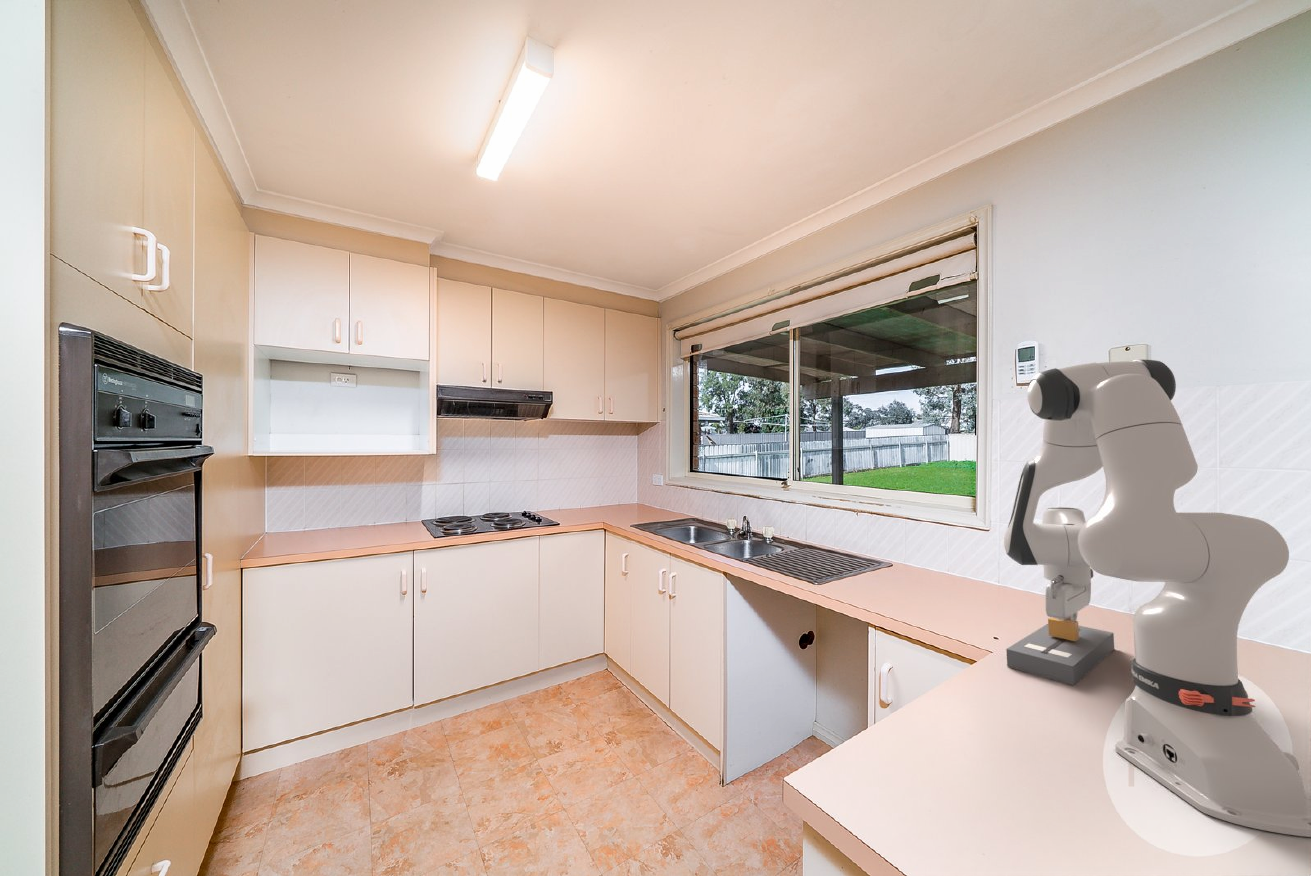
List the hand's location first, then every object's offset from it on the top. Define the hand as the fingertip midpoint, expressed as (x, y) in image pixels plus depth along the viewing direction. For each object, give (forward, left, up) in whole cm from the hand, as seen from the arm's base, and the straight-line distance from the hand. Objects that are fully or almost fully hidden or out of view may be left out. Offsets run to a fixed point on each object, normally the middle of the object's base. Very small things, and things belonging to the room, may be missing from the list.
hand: (1069, 629), depth 119 cm
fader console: (-4, +3, -5) cm, 7 cm away
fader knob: (-3, +2, -1) cm, 4 cm away
